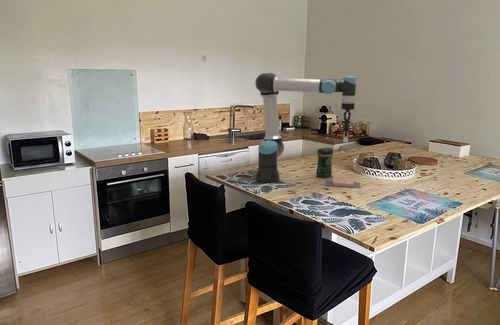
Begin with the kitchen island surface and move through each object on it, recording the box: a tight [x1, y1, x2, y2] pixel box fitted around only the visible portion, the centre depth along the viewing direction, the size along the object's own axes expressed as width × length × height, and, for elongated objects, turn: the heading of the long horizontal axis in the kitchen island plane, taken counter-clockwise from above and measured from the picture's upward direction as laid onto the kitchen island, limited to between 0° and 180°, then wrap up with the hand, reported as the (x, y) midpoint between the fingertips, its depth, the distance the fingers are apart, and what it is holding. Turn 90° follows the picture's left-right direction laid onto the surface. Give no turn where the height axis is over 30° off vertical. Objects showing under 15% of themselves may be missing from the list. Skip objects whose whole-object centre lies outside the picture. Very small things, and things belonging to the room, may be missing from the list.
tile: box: [332, 176, 354, 188], centre depth 228 cm, size 12×2×12 cm
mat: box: [325, 179, 361, 189], centre depth 228 cm, size 20×11×1 cm, turn 76°
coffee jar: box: [315, 147, 334, 178], centre depth 243 cm, size 10×8×19 cm
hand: (345, 141), depth 230 cm, fingers closed
